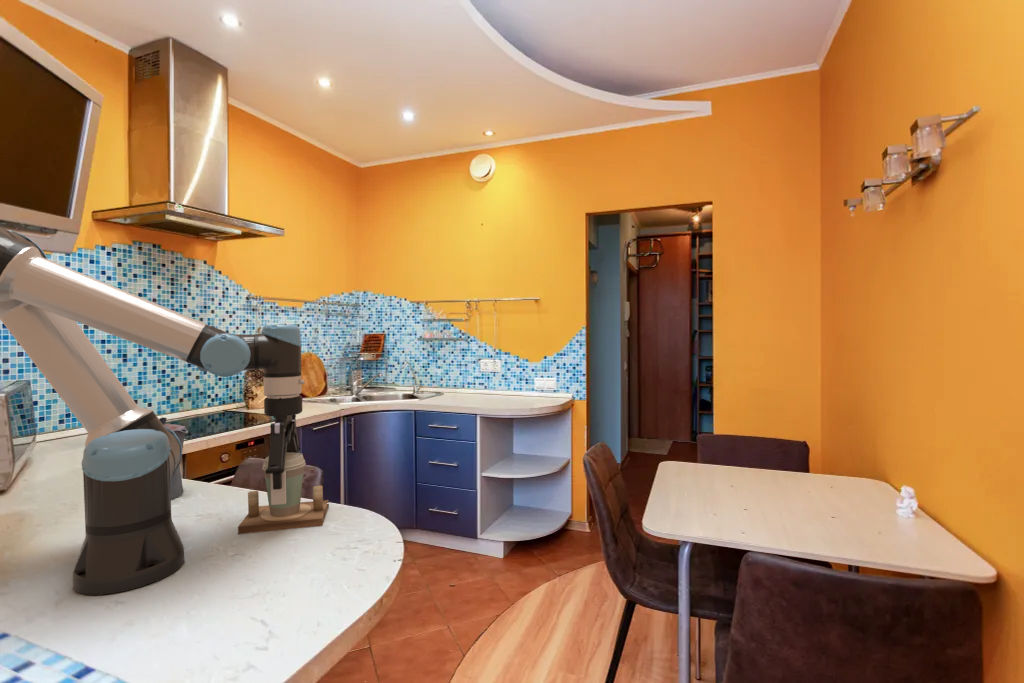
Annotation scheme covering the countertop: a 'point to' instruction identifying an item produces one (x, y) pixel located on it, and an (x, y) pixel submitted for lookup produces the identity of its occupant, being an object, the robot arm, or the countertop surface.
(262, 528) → the rest board
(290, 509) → the coffee cup
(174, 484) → the moka pot
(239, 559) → the countertop surface
